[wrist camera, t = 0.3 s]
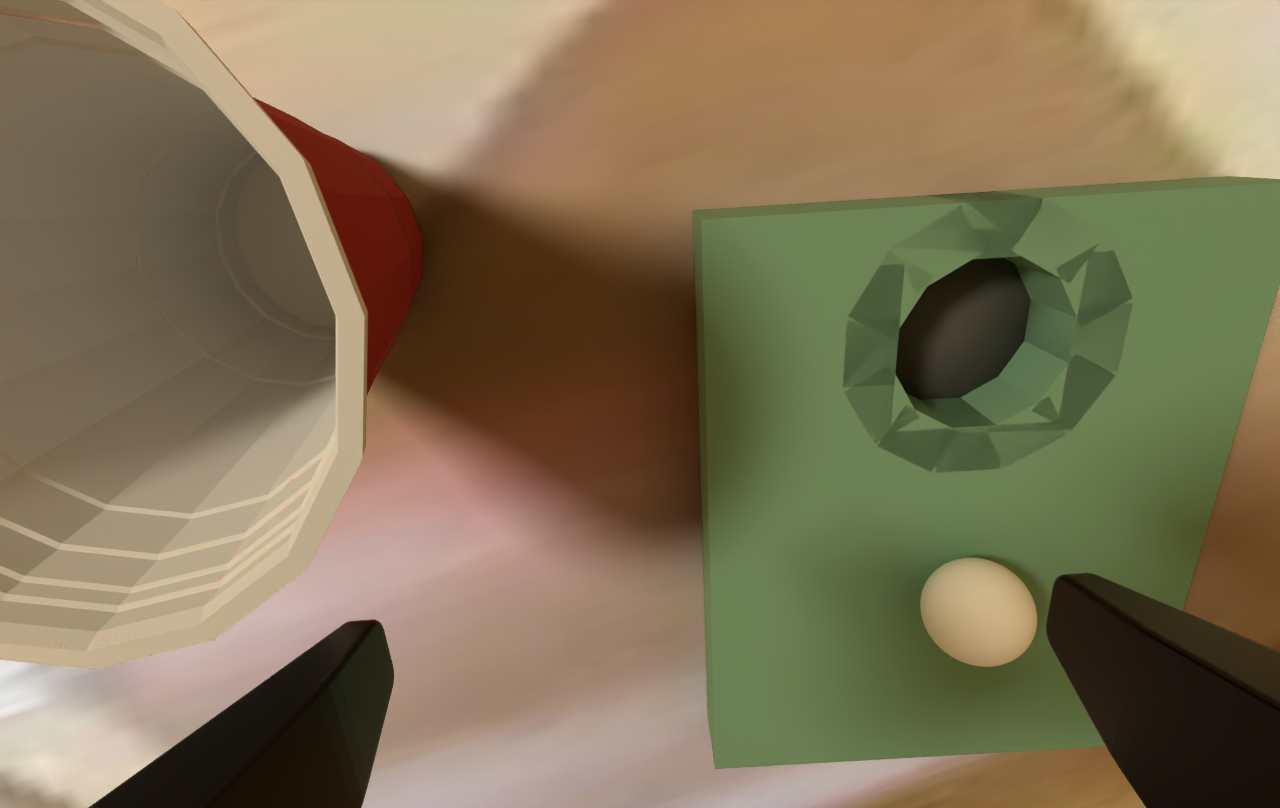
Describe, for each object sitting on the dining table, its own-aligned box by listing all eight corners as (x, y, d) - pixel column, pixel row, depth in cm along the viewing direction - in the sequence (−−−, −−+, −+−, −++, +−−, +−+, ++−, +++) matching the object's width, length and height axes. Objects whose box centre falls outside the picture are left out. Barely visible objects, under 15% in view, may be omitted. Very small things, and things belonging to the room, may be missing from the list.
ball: (994, 615, 22) (1050, 687, 19) (900, 621, 22) (941, 694, 20) (1008, 534, 21) (1070, 598, 18) (908, 540, 21) (954, 605, 18)
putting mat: (1098, 692, 27) (1142, 744, 25) (707, 715, 27) (715, 768, 25) (1229, 176, 20) (1310, 181, 17) (693, 210, 20) (701, 219, 18)
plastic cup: (480, 16, 18) (234, -193, 7) (529, 390, 22) (426, 649, 11) (82, 43, 18) (-813, -120, 7) (202, 411, 22) (-236, 688, 11)
